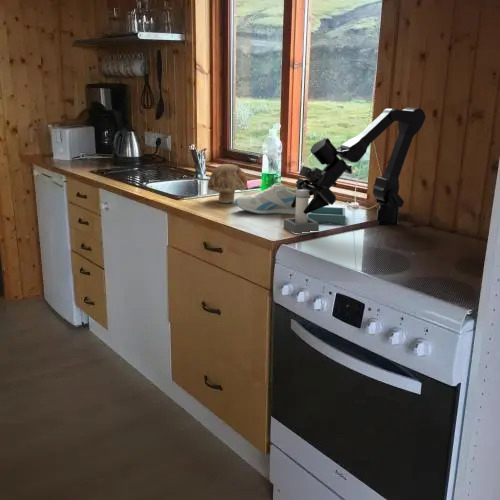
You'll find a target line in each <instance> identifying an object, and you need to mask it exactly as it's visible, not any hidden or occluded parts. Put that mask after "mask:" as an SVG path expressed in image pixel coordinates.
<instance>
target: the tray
mask: <svg viewBox="0 0 500 500" xmlns="http://www.w3.org/2000/svg"><path fill="white" fill-rule="evenodd" d="M308 218H310V219H312V220H314V221H316V222H318V223H319V224H329V223H331V225H332V224H335V225H345V224H346V208H345V207H333V206H331V207H329V206H324V207H322V208H319V209H317V210H314V211H312V212H310V213H308Z"/></svg>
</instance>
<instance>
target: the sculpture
mask: <svg viewBox="0 0 500 500" xmlns="http://www.w3.org/2000/svg"><path fill="white" fill-rule="evenodd" d="M247 186H248V179H247V174H246V172H245V171H242V169H241V168H240V166H239V165H237V164H233V163H232V164H231V163H223V164H220V165H218V166H216V167H214V169H213V170H212V172H211V174H210V176H209V181H208V184H207V189H208V190H210V191H215V192H219V193H218V194H219V195H218V202H219V203H222V204H223V203H224V204H229V203H235V193H236V190H239V191H241V192H242V191H245V190H246V189H247Z"/></svg>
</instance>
